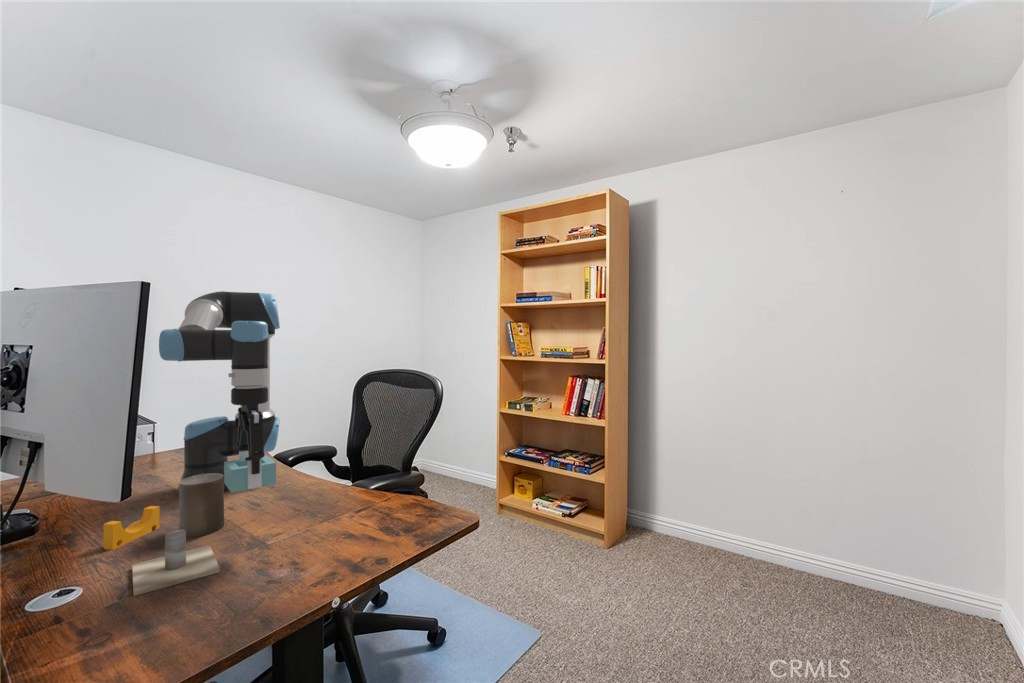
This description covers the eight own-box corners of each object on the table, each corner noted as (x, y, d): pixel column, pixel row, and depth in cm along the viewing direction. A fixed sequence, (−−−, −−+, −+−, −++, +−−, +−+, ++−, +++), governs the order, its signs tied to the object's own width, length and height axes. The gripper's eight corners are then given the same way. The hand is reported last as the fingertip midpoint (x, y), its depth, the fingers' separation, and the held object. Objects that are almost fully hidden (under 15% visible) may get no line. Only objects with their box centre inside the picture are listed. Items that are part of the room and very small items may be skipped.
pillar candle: (232, 527, 119) (232, 471, 119) (191, 542, 110) (191, 480, 110) (211, 521, 123) (211, 466, 124) (170, 534, 115) (170, 475, 115)
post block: (132, 569, 97) (132, 531, 97) (209, 549, 106) (209, 515, 106) (133, 596, 87) (133, 554, 87) (219, 572, 96) (219, 534, 96)
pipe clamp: (144, 530, 118) (144, 505, 118) (159, 531, 117) (159, 506, 117) (96, 551, 106) (96, 523, 106) (113, 552, 106) (113, 524, 106)
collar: (224, 482, 106) (224, 461, 106) (266, 475, 112) (266, 455, 112) (231, 492, 100) (231, 470, 100) (276, 484, 105) (276, 462, 105)
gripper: (223, 384, 112) (223, 474, 112) (240, 392, 95) (240, 498, 95) (257, 382, 116) (257, 469, 117) (279, 389, 100) (279, 490, 100)
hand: (250, 482), depth 106 cm, fingers closed on collar, 9 cm apart
